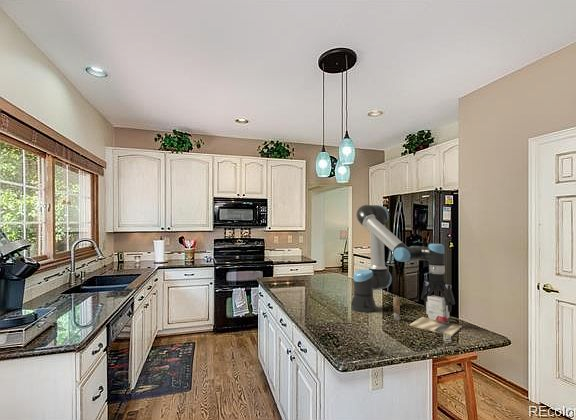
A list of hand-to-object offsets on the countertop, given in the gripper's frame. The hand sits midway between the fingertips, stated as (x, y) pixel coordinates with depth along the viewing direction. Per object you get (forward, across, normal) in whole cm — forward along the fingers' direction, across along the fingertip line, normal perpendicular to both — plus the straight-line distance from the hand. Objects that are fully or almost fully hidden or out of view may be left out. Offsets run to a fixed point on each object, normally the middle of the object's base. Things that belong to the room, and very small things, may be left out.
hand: (437, 315), depth 160 cm
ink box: (+2, 0, 0) cm, 2 cm away
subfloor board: (+4, +1, -5) cm, 7 cm away
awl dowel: (+4, -18, -10) cm, 21 cm away
